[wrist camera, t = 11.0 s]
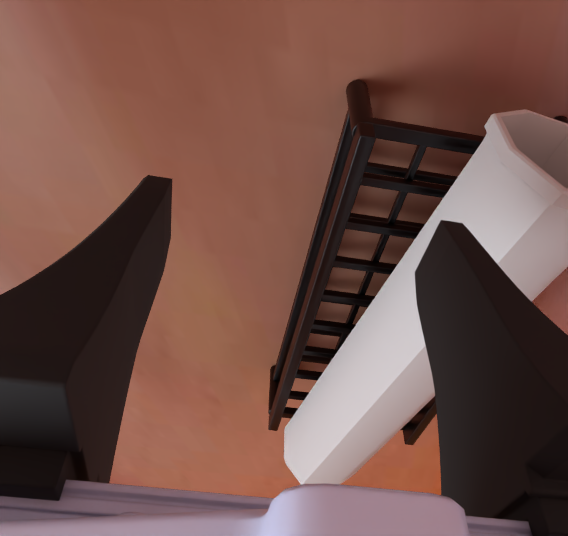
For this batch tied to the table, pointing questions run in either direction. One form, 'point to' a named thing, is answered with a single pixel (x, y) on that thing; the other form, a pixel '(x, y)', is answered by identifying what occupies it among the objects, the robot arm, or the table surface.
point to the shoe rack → (338, 217)
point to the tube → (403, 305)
